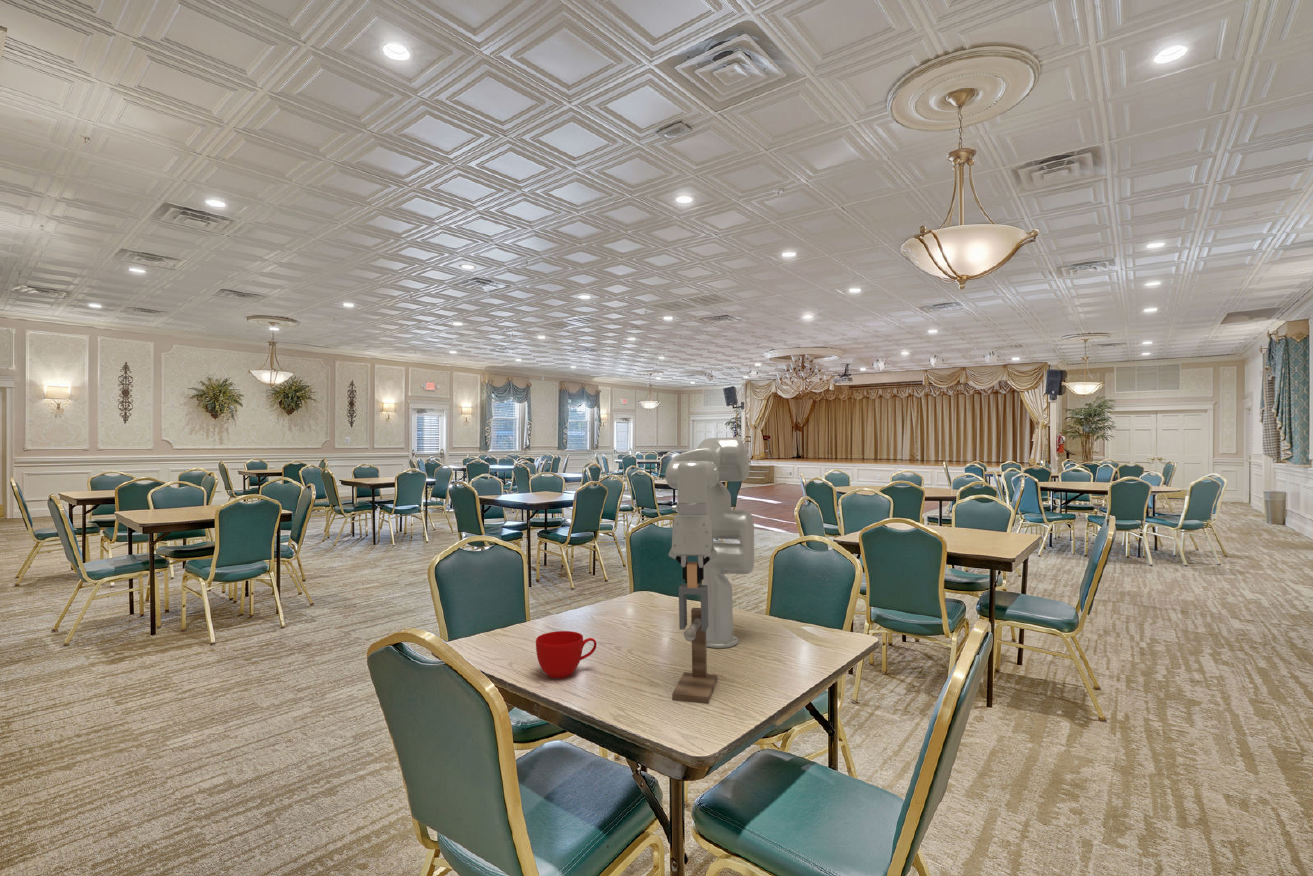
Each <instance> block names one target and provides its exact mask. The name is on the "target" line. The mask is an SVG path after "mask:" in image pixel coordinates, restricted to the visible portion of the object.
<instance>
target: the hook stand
mask: <svg viewBox="0 0 1313 876" xmlns="http://www.w3.org/2000/svg"><path fill="white" fill-rule="evenodd" d="M690 612H691V615H690V617H691V618H690V619H691V625H690V626H689V628H688V627H687V628H685V629H684V631H683V638H684V639H685V640H686V641H688V642H691V671H692V672H688V671H684V672H683V673H682V675H681V677H680V679H679V681H678V683H677V684H676V686H675V688H674V690H673V692H672V694H671V700H672V701H677V702H690V703H699V704H701V703H702V704H709V703H710V700H711V699H712V695H713V694H714V690H715V687H716V686H717V683H718V674H714V673H708V671H707V669H708V668H707V666H708V662H707V657H708V655H707V653H708V652H707V646H706V631H701V607H692V608H691V611H690Z"/></svg>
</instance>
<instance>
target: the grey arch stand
mask: <svg viewBox="0 0 1313 876" xmlns="http://www.w3.org/2000/svg"><path fill="white" fill-rule="evenodd" d="M698 565H699V563H698V561H688V564H687V583H681V584H680V586H679V587H678V618H679V624H678V625H679V626H678V627H679V630H683V631H685V630H686V629H687V626H688V604H687V603H688V600H687V599H688V596H689V595H693V596H694V595H695V596H700V608H701V631H706V630H707V628H708V626H709V622H708V585H702V584H698V583H697V568H698Z"/></svg>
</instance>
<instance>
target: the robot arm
mask: <svg viewBox="0 0 1313 876" xmlns="http://www.w3.org/2000/svg"><path fill="white" fill-rule="evenodd" d="M749 462H750V461H749V458H748V453H747V449H746V447H745V443H743V441H742V439H740V438H738V437H709V438H706V439H704V440H702V441H701V442H700V444H699V445H698V446H697V448H694V449H692V450H689V451H685V452H682V453H680V454H677V455H676V454H675V456H674V457H672V458H671V459H670V461H669V462H668V464H667V466H666V469H665V481H666V483H667V485H668V487H670V488H671V489H675V490H677V503H676V504H674V505H672V506H671V508H672V511H675V512H676V513H677V514H676V515H674V518H673V523H672V533H671V535H672V536H671V540H672V541H671V548H670V550H669V551H668V552H669V553H668V557H669V558H671V559H673V560H675V561H677V563H679V565H680V566H681V567H682V580H684V584H687V564H688V562H689V560H688V559H689V556H691V557H693V556H694V557H695V556H697V559H698V561H697V562H698V563H699V565H698V568H697V583H698V584H699V585H708V622H709V626H708V628H707V630H706V648H715V649H716V648H717V649H724V648H731V647H734V646H736V645H738V643H739V639H738V637H737V636H736V635H734V625H733V623H734V622H733V621H734V618H733V616H734V615H733V587H732V584H731V582H730V581H729V579H728V577H726V575H727V574H730V575H731V574H734V575H735V574H736V575H747V574H751V573H752V571H754V570H753V569H754V568H755V567H754V566H755V525H754V522H755V521H754V518H753V515H752V513H751V512H750V511H748V510H745V509H732V496H731V493H730V491H729V489H728V488H727V487H726V486H725V485H724V483H722V482H743V481H745V480H747V479H748V477H749V476H750V475H749V474H750V463H749ZM714 539H717V540H738V541H739V543H730V542H714Z"/></svg>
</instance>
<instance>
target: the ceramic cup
mask: <svg viewBox="0 0 1313 876" xmlns="http://www.w3.org/2000/svg"><path fill="white" fill-rule="evenodd" d="M590 641H591V642H593V647H592V648H591V649H590V651H589V652H587V653H586V654H584V655H582V654H583V649H584V647H585V645H586V644H587V643H589V642H590ZM596 649H597V640H595V639H594V638H593V637H587V638H585V639H584V636H583V634H581V633H580V632H576V631H572V630H571V631H569V630H558V631H550V632H546V633H542V634H541V635H538V636H537V637H536V639H535V651H536V656H537V657H536V658H537V661H538V665H539V666H540V668H541V670H542V671H543V672H544V673H545V675H547V677H548V676H549V677H548V678H550V677H551V679H555V678H560V679H565V677H566V678H568V676H569V677H570V676H572V674H573V673H574V671H575V670H576V669H577V667H578V666H579V664H580V662H581V661H582V660H584V659H586V658H589V657H590V656H591V655H592V654H594V652H595V651H596Z"/></svg>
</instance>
